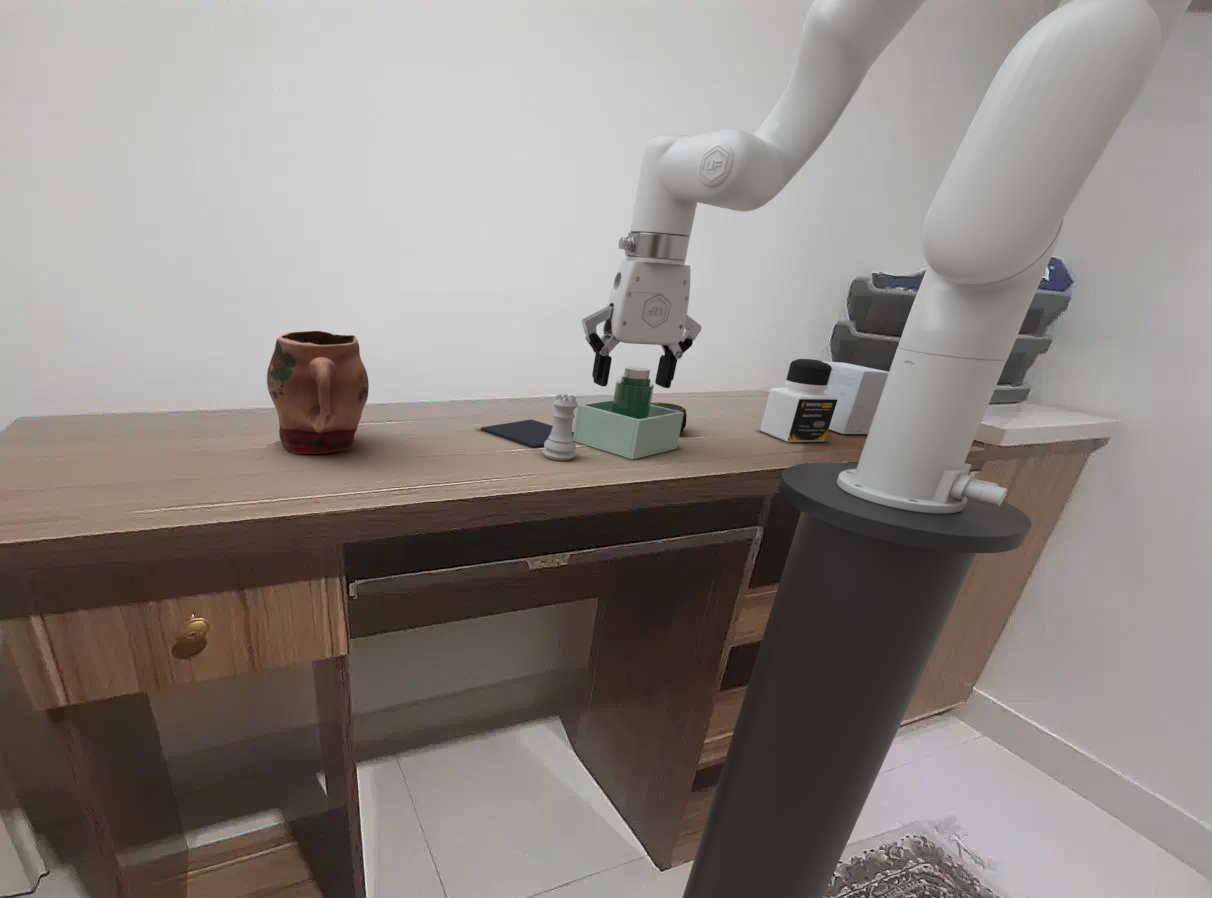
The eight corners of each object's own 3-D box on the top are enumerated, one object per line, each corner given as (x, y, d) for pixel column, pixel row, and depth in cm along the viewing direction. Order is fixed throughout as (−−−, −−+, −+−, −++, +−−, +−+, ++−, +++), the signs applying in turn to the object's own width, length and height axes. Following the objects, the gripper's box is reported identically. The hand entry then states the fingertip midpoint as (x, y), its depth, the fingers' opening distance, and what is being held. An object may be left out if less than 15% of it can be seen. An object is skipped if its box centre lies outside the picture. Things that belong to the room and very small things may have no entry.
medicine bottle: (787, 442, 101) (809, 363, 96) (758, 431, 107) (778, 356, 102) (825, 442, 102) (849, 364, 97) (794, 431, 109) (815, 357, 104)
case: (676, 448, 94) (684, 412, 91) (632, 459, 87) (639, 420, 85) (617, 431, 101) (622, 397, 98) (572, 440, 94) (577, 404, 92)
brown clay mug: (387, 469, 77) (388, 348, 71) (282, 476, 73) (273, 347, 67) (351, 427, 93) (349, 326, 87) (263, 430, 89) (255, 324, 83)
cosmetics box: (874, 435, 110) (895, 371, 105) (843, 435, 108) (864, 370, 103) (827, 420, 119) (846, 361, 114) (798, 420, 117) (816, 360, 112)
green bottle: (650, 444, 94) (664, 370, 89) (628, 449, 91) (642, 372, 86) (621, 436, 97) (633, 364, 93) (599, 440, 94) (610, 366, 89)
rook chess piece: (535, 453, 87) (542, 393, 84) (561, 450, 89) (569, 391, 86) (555, 462, 84) (563, 400, 80) (582, 459, 86) (591, 398, 82)
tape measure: (638, 431, 102) (642, 407, 100) (641, 422, 108) (645, 399, 106) (683, 437, 100) (688, 413, 98) (684, 427, 106) (688, 404, 104)
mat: (584, 437, 96) (584, 435, 96) (533, 447, 89) (533, 445, 89) (531, 421, 103) (531, 419, 103) (480, 429, 97) (480, 427, 97)
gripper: (607, 246, 78) (585, 389, 85) (732, 256, 82) (700, 392, 89) (583, 244, 84) (564, 378, 92) (699, 254, 88) (672, 381, 96)
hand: (631, 385), depth 91 cm, fingers open, 9 cm apart
